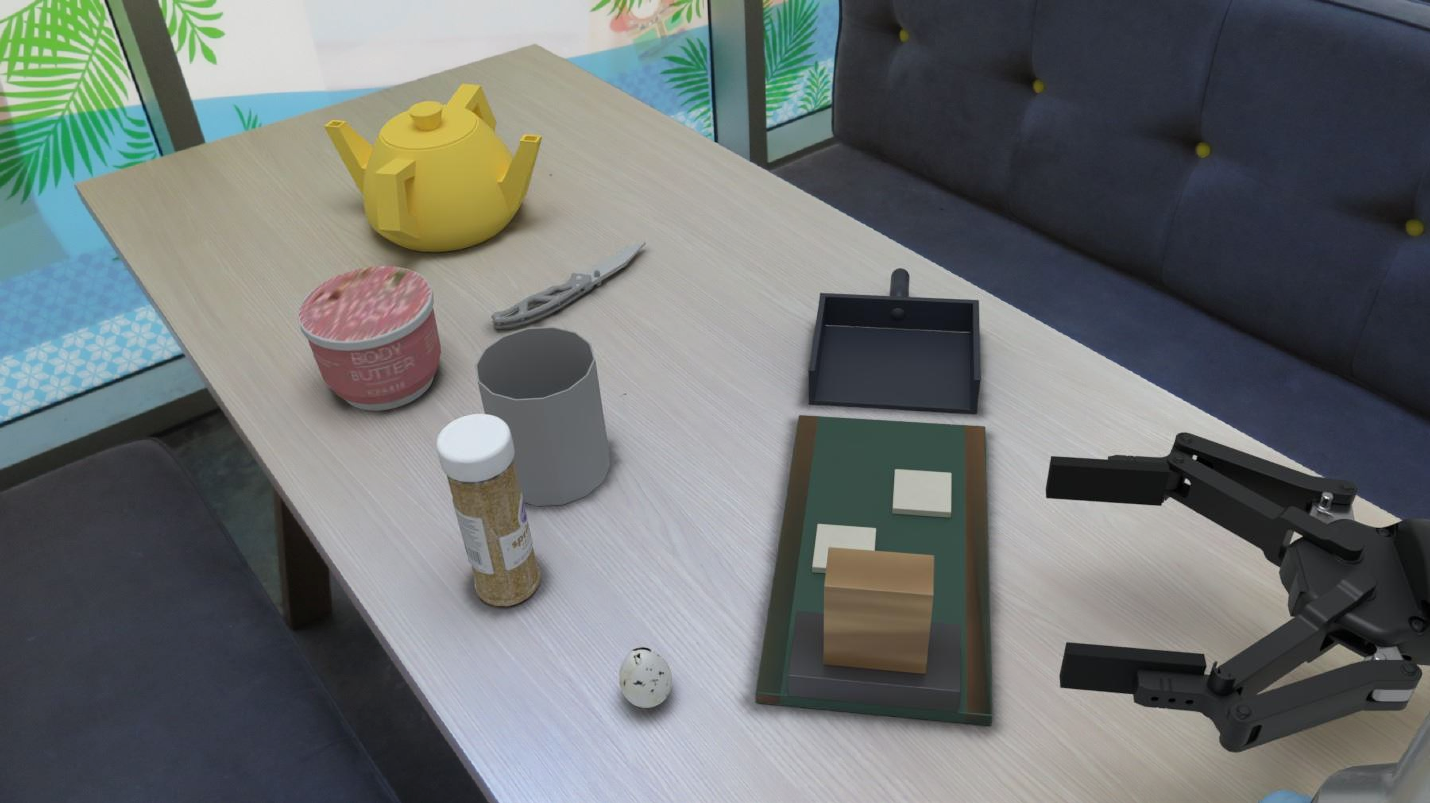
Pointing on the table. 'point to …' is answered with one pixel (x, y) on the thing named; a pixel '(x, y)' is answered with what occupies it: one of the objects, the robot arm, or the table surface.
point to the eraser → (877, 636)
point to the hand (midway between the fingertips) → (1054, 563)
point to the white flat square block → (840, 542)
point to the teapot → (438, 173)
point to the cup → (548, 411)
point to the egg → (645, 677)
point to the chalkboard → (885, 543)
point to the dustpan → (896, 351)
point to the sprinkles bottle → (489, 507)
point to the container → (373, 335)
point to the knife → (555, 302)
